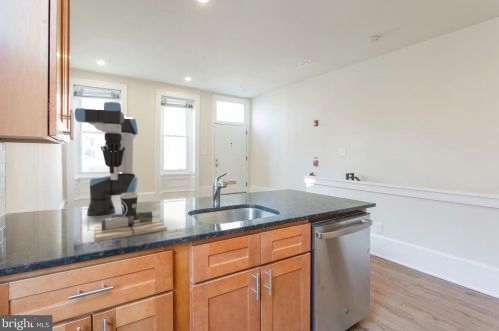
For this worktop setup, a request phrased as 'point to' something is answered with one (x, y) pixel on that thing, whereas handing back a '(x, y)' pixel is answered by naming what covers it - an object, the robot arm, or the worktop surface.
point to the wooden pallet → (131, 228)
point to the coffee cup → (129, 204)
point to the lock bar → (117, 222)
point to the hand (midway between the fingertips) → (114, 179)
